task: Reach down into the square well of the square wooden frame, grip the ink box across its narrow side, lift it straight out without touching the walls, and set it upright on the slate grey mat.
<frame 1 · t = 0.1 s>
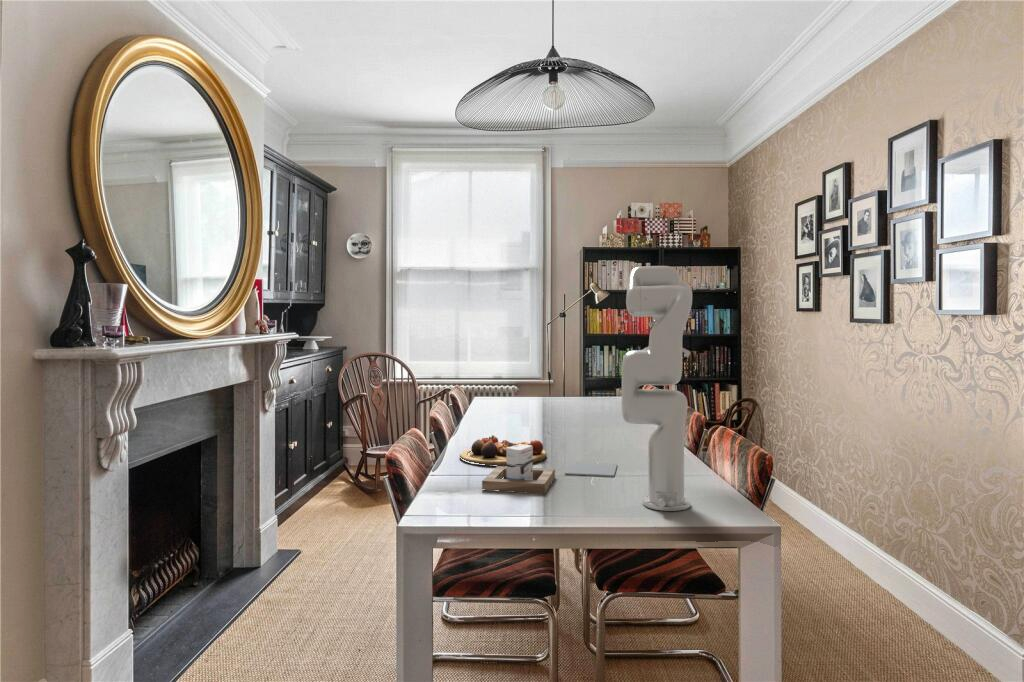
hand: (664, 376, 217), 31 cm above the table, tool pointing down, fingers open, 9 cm apart
wooden plate with food: (503, 459, 236), on the table
ink box: (519, 484, 198), on the table
slate grey mat: (591, 470, 215), on the table
square wooden frame: (519, 484, 198), on the table
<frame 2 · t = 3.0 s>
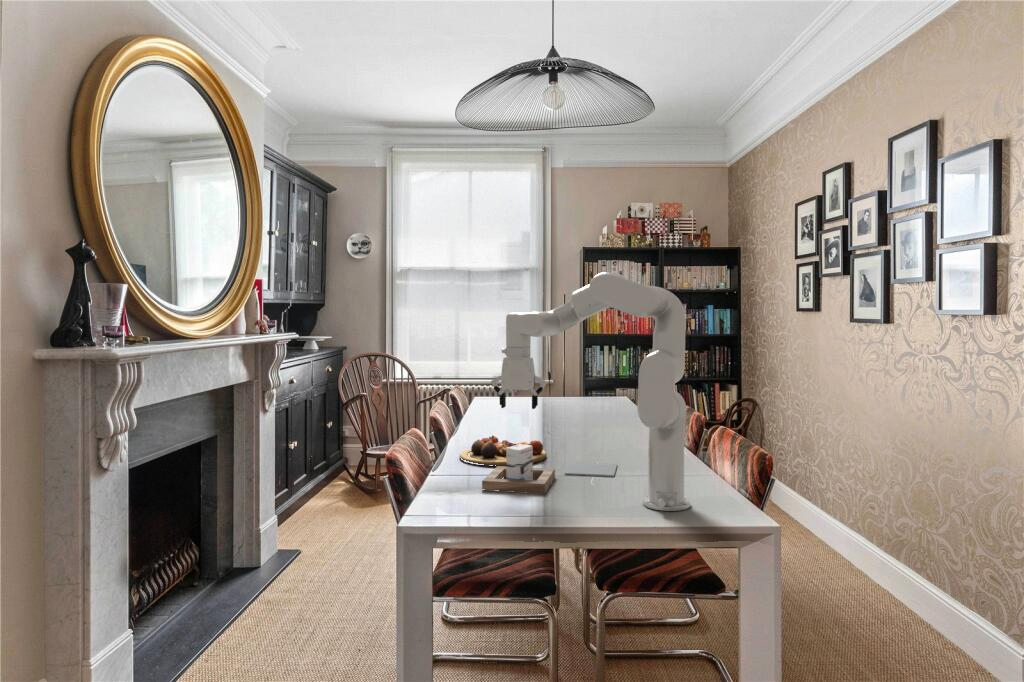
hand: (518, 407, 197), 24 cm above the table, tool pointing down, fingers open, 9 cm apart
nothing on the table moved.
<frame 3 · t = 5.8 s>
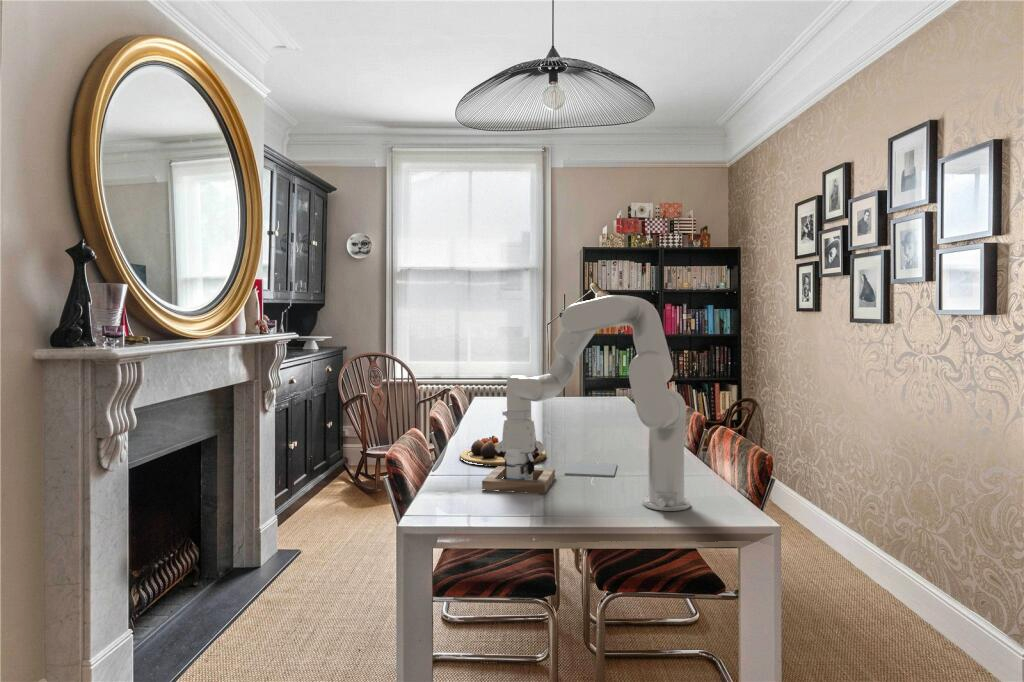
hand: (519, 472, 198), 4 cm above the table, tool pointing down, fingers closed on ink box, 6 cm apart
ink box: (519, 484, 198), on the table, touching gripper
everything else where it was.
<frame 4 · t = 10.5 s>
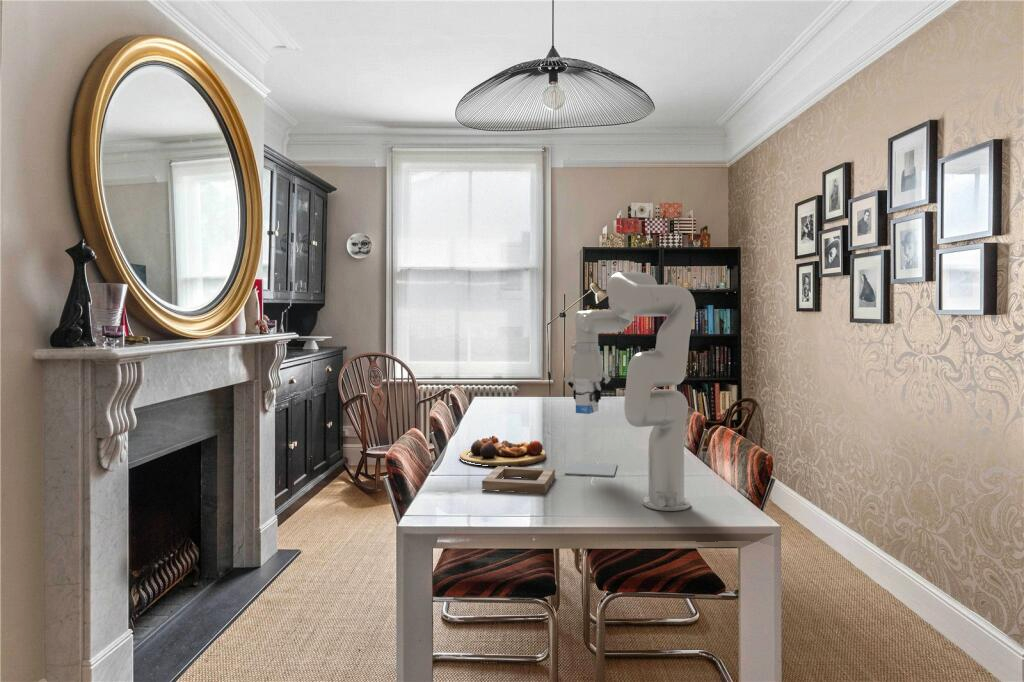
hand: (587, 401, 213), 23 cm above the table, tool pointing down, fingers closed on ink box, 6 cm apart
ink box: (587, 412, 213), point 20 cm above the table, touching gripper
everything else where it was.
when the fingers open (5 cm above the table, at t = 15.1 s): ink box drops 1 cm, resting on slate grey mat.
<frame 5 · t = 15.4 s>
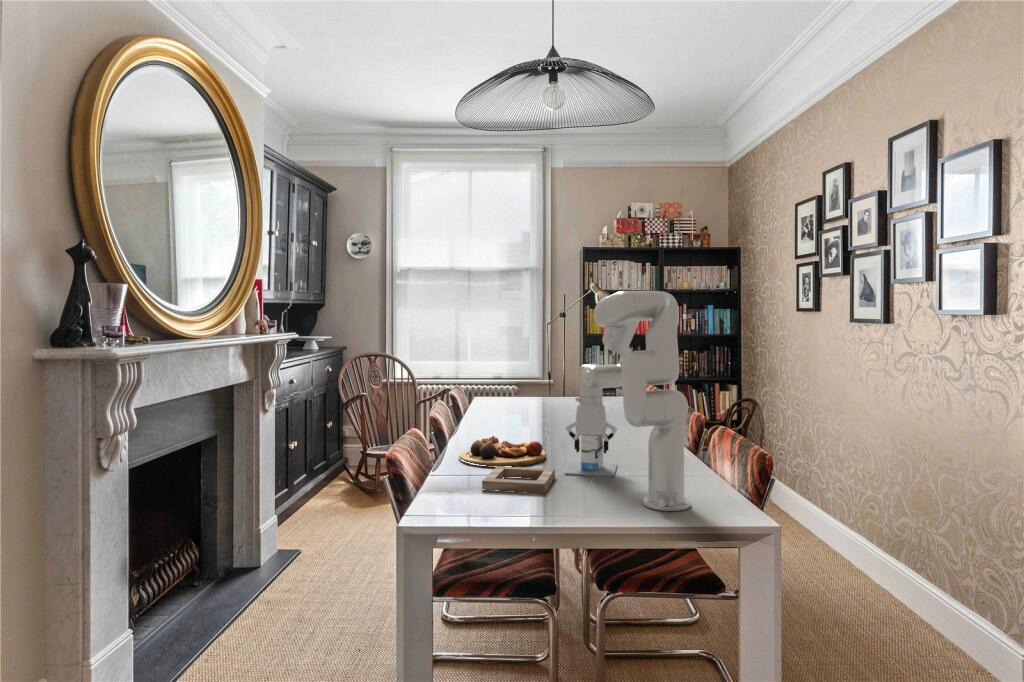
hand: (591, 452, 215), 6 cm above the table, tool pointing down, fingers open, 8 cm apart
ink box: (592, 469, 215), resting on slate grey mat
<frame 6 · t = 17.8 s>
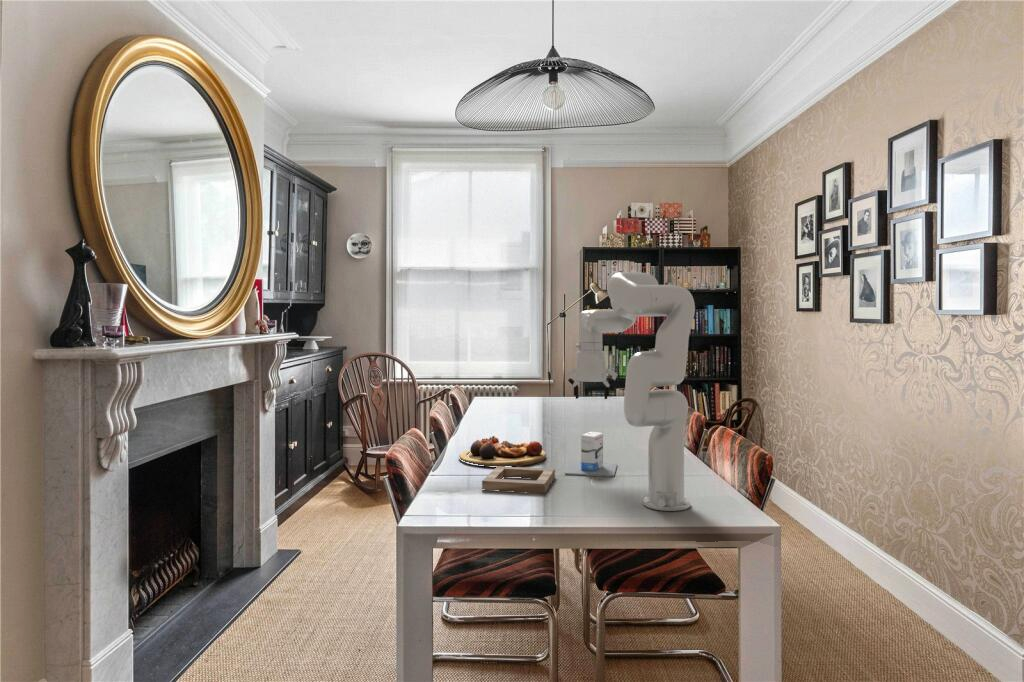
hand: (591, 398, 214), 24 cm above the table, tool pointing down, fingers open, 9 cm apart
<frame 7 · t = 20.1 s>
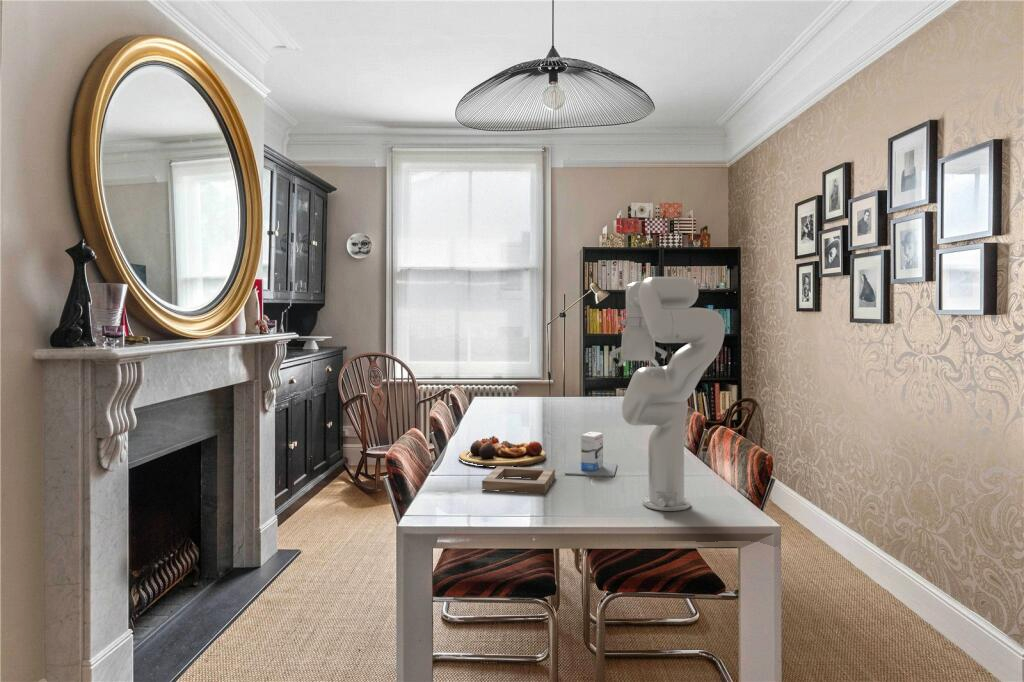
hand: (638, 379, 197), 32 cm above the table, tool pointing down, fingers open, 9 cm apart
at the end: ink box inside the target area on the slate grey mat (0.4 cm from its centre), point 0.4 cm above the slate grey mat's base; ink box tilted 0°; ink box touching slate grey mat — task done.
